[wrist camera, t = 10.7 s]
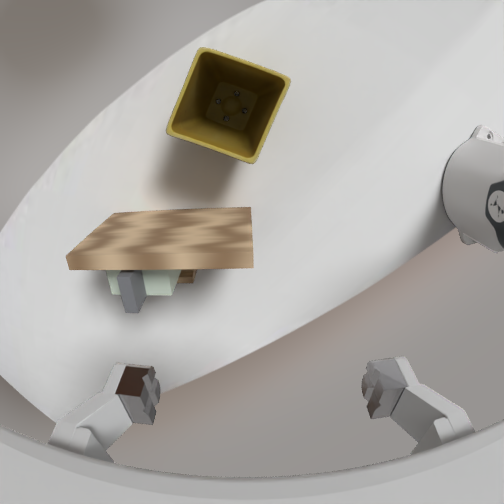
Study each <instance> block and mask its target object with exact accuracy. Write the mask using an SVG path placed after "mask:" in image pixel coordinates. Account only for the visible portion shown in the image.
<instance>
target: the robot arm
mask: <svg viewBox="0 0 504 504" xmlns="http://www.w3.org/2000/svg"><path fill="white" fill-rule="evenodd" d="M487 135H488V138H487ZM443 202H444V207H445V210H446V213H447V215H448V217H449V218H450V220H451V221H452V223H453V224H454V225H455V226H456V227H457V229H458V231H459V235H460V238H461V240H462V242H463V243H465V244H467V245H470V244H473V243H479V244H481V245H482V246H484V247H486V248H488V249H489V250H491V251H492V252H494V253H498V252H499V251H504V138H503V137H501V136H500V135H498V134H497V133H495V132H494V131H492V130H491V129H489V128H487V127H485V126H482V125H479V126H478V127H477V128H476V130H475V131H474V133H473V135H472V137H471V138H470V139H469V140H468V141H466V142H465V143H463V144H462V145H460V146H459V147H458V148H457V149H456V151H455V152H454V153H453V155H452V156H451V158H450V160H449V162H448V165H447V167H446V170H445V174H444V179H443ZM366 369H367V373H366V374H365V375H364V376H363V379H362V393H363V396H364V398H365V399H366V400H368V401H369V402H368V405H367V408H368V412H369V415H370V418H371V419H376V418H382V417H388V416H390V417H391V418H392V419H393V420H394V421H395V422H396V423H397V424H398V425H400V426H401V427H402V428H403V429H404V430H405V431H406V432H407V433H408V434H409V435H410V436H412V437H413V438H414V439H415V440H416V441H417V442H418V444H417V445H416V447H415V448H414V450H413V451H412V452H411V455H408V456H405V457H401V458H397V459H393V460H389V461H385V462H381V463H377V464H372V465H367V466H362V467H357V468H351V469H345V470H338V471H332V472H324V473H316V474H307V475H297V476H296V475H295V476H280V477H211V476H197V475H186V474H185V475H184V474H176V473H168V472H161V471H153V470H147V469H141V468H136V467H131V466H125V465H120V464H116V463H114V461H113V459H112V458H111V457H110V456H109V454H108V453H107V452H106V450H107V449H108V448H109V447H110V446H111V445H112V444H113V443H114V442H115V441H116V440H117V439H118V438H119V437H120V436H121V435H122V434H123V433H124V432H125V431H126V430H127V429H128V428H129V427H130V426H131V425H132V424H133V423H140V424H149V425H153V422H154V419H155V415H156V410H155V407H154V406H155V405H156V404H157V403H159V399H160V385H159V381H158V380H157V379H156V378H155V373H156V372H155V370H154V367H152V366H144V365H135V364H126V363H118V362H117V363H116V364H115V365H114V366H113V369H112V371H111V373H110V375H109V378H108V380H107V382H106V384H105V387H104V389H103V391H102V392H98V393H97V394H95V395H94V396H92V397H91V398H89V399H88V400H87V401H85V402H84V403H82V404H81V405H79V406H78V407H77V408H75V409H74V410H72V411H71V412H69V413H68V414H66V415H65V416H64V417H62V418H61V419H59V420H58V422H57V424H56V426H55V429H54V431H53V433H52V435H51V437H50V440H49V442H48V444H46V443H43V442H41V441H38V440H35V439H33V438H31V437H28V436H26V435H23V434H20V433H18V432H16V431H14V430H12V429H9V428H7V427H5V426H3V425H1V424H0V504H504V419H503V420H501V421H499V422H497V423H495V424H492V425H491V426H488V427H486V428H484V429H481V430H479V431H477V432H475V430H474V428H473V426H472V424H471V422H470V420H469V418H468V416H467V414H466V413H465V411H464V409H462V408H460V407H459V406H457V405H456V404H454V403H452V402H451V401H449V400H448V399H446V398H444V397H443V396H441V395H440V394H438V393H437V392H435V391H433V390H432V389H430V388H429V387H427V386H426V385H424V384H420V383H419V381H418V380H417V378H416V376H415V374H414V372H413V370H412V368H411V366H410V364H409V362H408V361H407V359H406V357H404V356H401V357H394V358H388V359H381V360H374V361H369V362H368V364H367V367H366Z"/></svg>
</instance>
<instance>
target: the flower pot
mask: <svg viewBox="0 0 504 504" xmlns="http://www.w3.org/2000/svg"><path fill="white" fill-rule="evenodd" d="M290 83H291V80H290V78H289V77H287V76H285V75H283V74H281V73H278V72H276V71H273V70H271V69H268V68H265V67H262V66H260V65H257V64H254V63H251V62H249V61H246V60H243V59H240V58H237V57H234V56H231V55H229V54H226V53H223V52H220V51H217V50H213V49H210V48H206V47H201V48H199V49H198V51H197V53H196V55H195V57H194V60H193V62H192V65H191V67H190V70H189V72H188V75H187V77H186V80H185V83H184V85H183V88H182V90H181V92H180V95H179V97H178V100H177V102H176V105H175V107H174V109H173V112H172V115H171V117H170V119H169V122H168V125H167V128H166V133H167V134H168V135H170V136H173V137H176V138H179V139H183V140H186V141H189V142H192V143H195V144H198V145H201V146H203V147H206V148H209V149H212V150H214V151H217V152H220V153H223V154H225V155H228V156H230V157H233V158H236V159H238V160H241V161H244V162H246V163H249V164H254V163H255V162H256V161H257V159H258V157H259V154H260V152H261V149H262V147H263V144H264V142H265V140H266V137H267V135H268V133H269V130H270V128H271V126H272V123H273V121H274V119H275V117H276V114H277V112H278V110H279V108H280V105H281V103H282V101H283V99H284V97H285V95H286V93H287V90H288V88H289V86H290ZM236 91H238V92H239V95H238V96H235V94H234V93H235V92H236ZM217 99H220V100H221V103H219V104H218V103H216V100H217ZM243 109H247V112H246V113H243V112H242V110H243ZM225 116H228V117H229V120H228V121H225V120H224V117H225Z"/></svg>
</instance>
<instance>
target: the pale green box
mask: <svg viewBox="0 0 504 504" xmlns="http://www.w3.org/2000/svg"><path fill="white" fill-rule="evenodd" d="M181 270H182V269H169V270H106V273H107V277H108V281H109V285H110V289H111V293H112V295H121V297H122V301H123V305H124V308H125V312H126V313H139V311H140V309H141V307H142V304H143V302H144V300H145V298H146V296H147V295H162V296H172V294H173V291H174V289H175V286H176V283H177V281H178V278H179V275H180V273H181Z"/></svg>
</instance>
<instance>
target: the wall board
mask: <svg viewBox="0 0 504 504" xmlns="http://www.w3.org/2000/svg"><path fill="white" fill-rule="evenodd" d="M66 259H67V263H68V266H69V270H169V269H182V270H181V273H180V275H179V278H178V281H177V283H193V282H194V278H195V275H196V271H197V269H234V268H253V239H252V221H251V207H237V208H204V209H179V210H159V211H141V212H125V213H114V214H112V215H111V216H110V217H109V218H108V219H106V220H105V221H104V222H103V223H102V224H101V225H100V226H98V227H97V228H96V229H95V230H94V231H93V232H92V233H90V234H89V235H88V236H87V237H86V238H85V239H84V240H83V241H81V242H80V243H79V244H78V245H77V246H76V247H75V248H74V249H73V250H72V251H71V252H70V253H68V254H67V255H66Z"/></svg>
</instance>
